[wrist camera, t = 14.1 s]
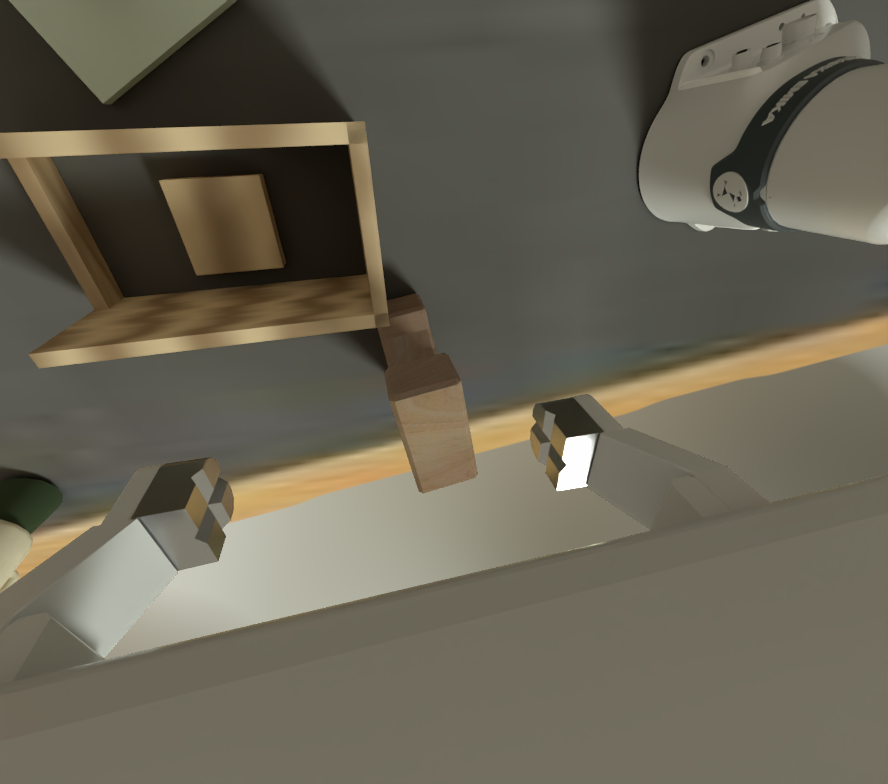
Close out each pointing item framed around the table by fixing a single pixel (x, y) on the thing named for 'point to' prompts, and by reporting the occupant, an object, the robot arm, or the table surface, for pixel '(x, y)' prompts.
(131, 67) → the sage board
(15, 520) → the character mug
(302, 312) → the oak cubby
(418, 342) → the decorative block
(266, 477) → the table surface
